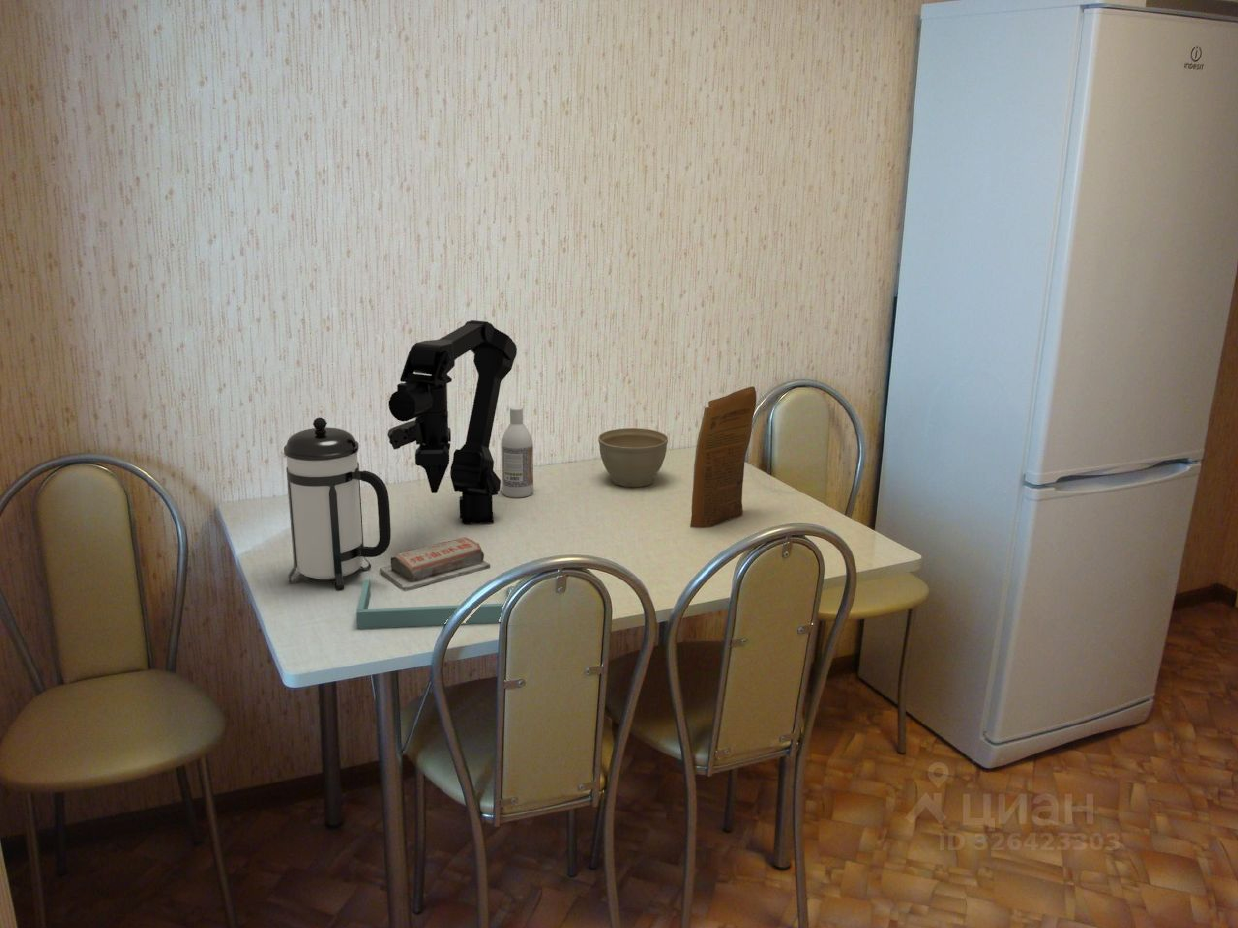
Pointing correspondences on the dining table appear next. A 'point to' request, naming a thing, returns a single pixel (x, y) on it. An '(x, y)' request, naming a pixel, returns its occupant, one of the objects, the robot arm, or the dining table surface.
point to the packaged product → (434, 563)
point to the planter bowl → (632, 455)
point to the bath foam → (517, 457)
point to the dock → (417, 613)
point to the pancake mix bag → (722, 458)
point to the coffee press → (330, 504)
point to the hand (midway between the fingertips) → (435, 487)
